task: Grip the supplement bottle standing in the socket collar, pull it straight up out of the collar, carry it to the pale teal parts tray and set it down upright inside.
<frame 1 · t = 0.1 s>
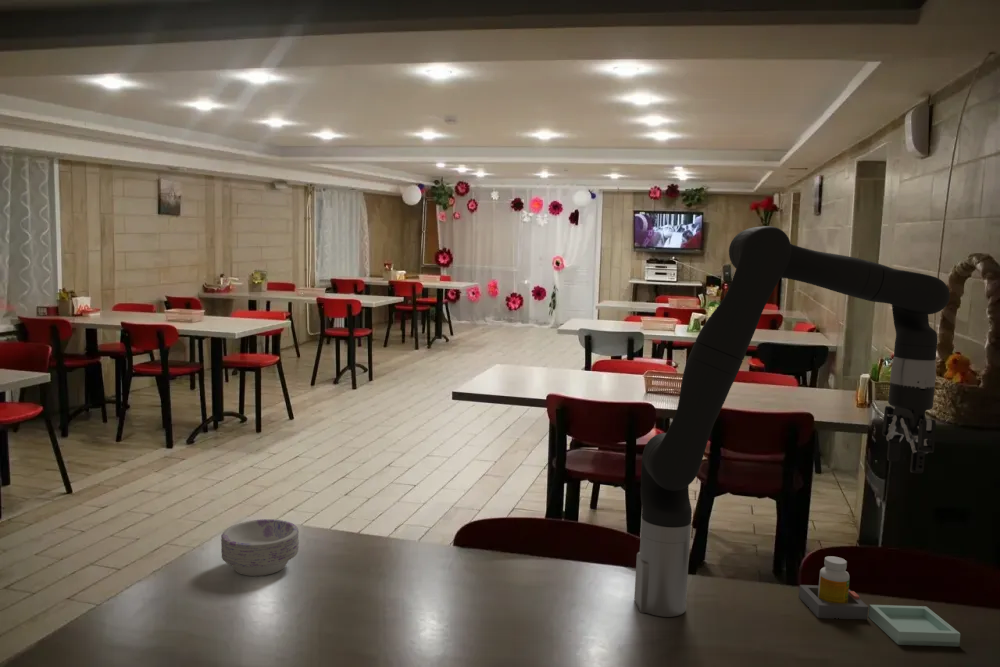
hand: (904, 466, 152), 29 cm above the table, tool pointing down, fingers open, 8 cm apart
socket collar: (831, 607, 156), on the table
parts tray: (912, 631, 147), on the table
supplement bottle: (831, 609, 156), resting in socket collar
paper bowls: (260, 568, 165), on the table
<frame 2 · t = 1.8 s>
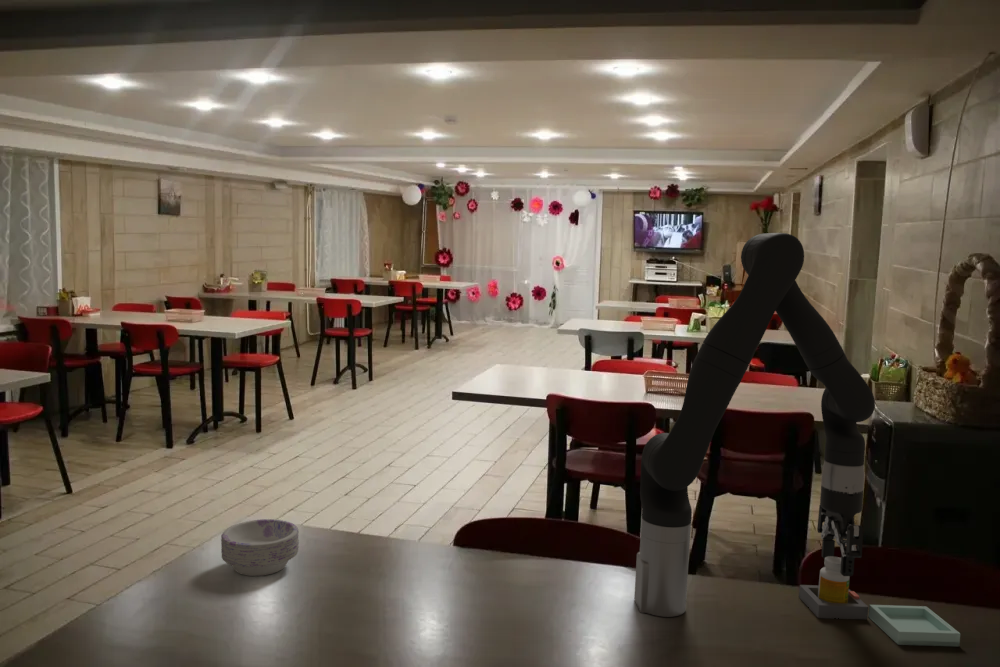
hand: (836, 566, 155), 8 cm above the table, tool pointing down, fingers open, 8 cm apart
nothing on the table moved.
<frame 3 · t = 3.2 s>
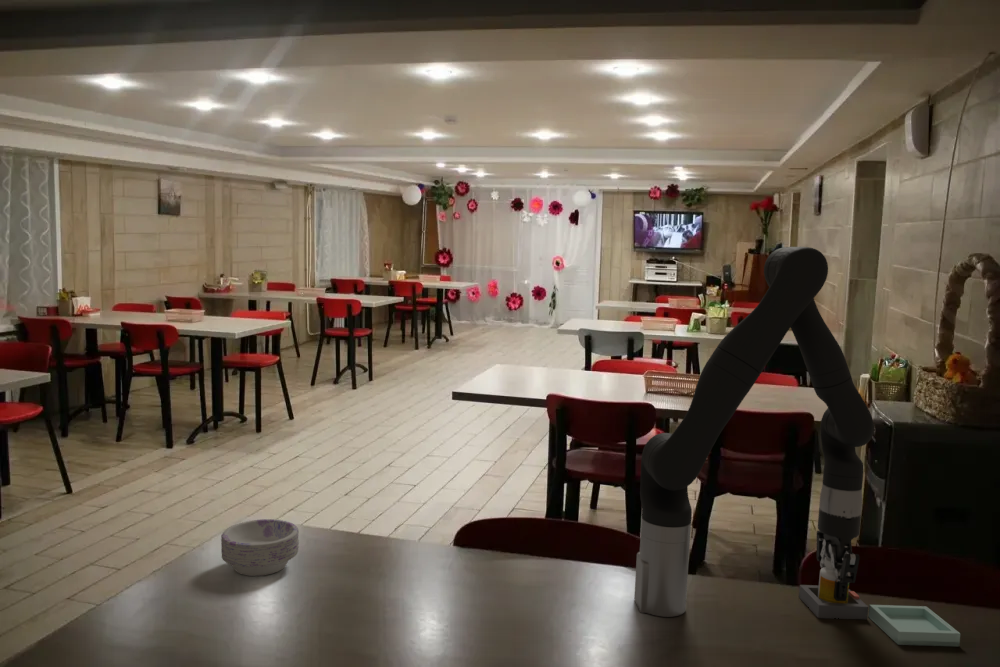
hand: (833, 593, 156), 3 cm above the table, tool pointing down, fingers closed on supplement bottle, 5 cm apart
supplement bottle: (831, 608, 156), resting in socket collar, touching gripper
everything else where it was.
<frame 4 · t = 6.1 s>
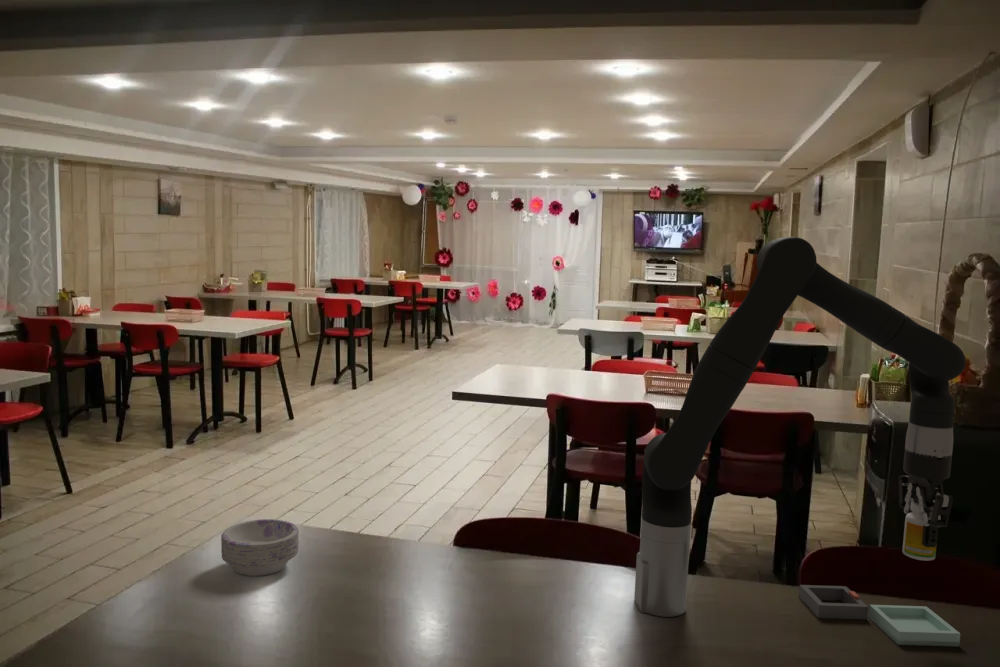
hand: (919, 539, 146), 17 cm above the table, tool pointing down, fingers closed on supplement bottle, 5 cm apart
supplement bottle: (918, 556, 146), point 14 cm above the table, touching gripper
everything else where it was.
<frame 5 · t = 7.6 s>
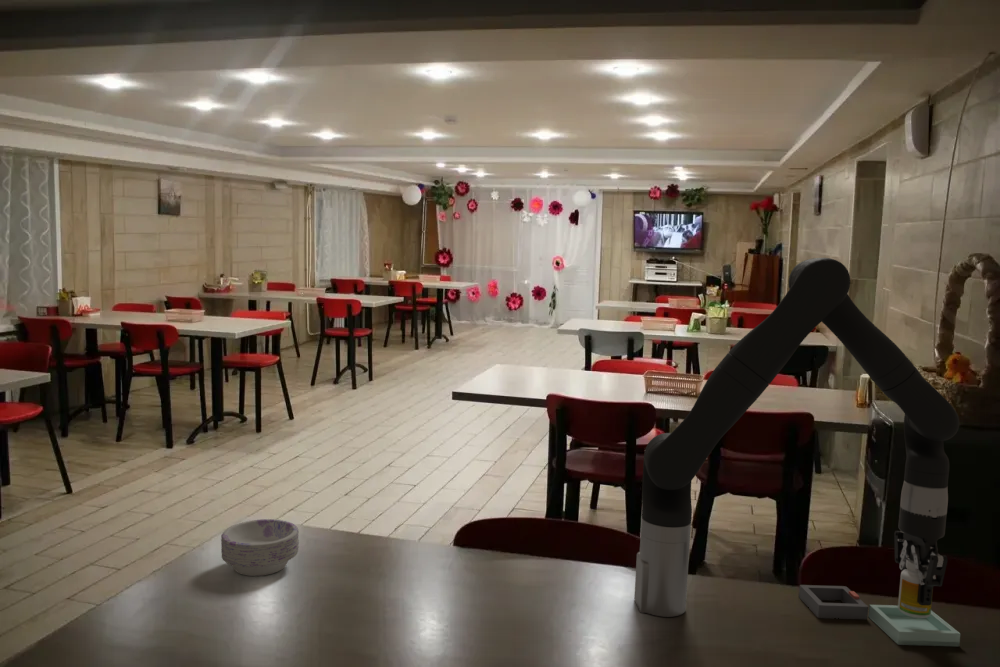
hand: (915, 597, 147), 7 cm above the table, tool pointing down, fingers closed on supplement bottle, 5 cm apart
supplement bottle: (913, 613, 147), point 3 cm above the table, touching gripper
everything else where it was.
when the fingers open (5 cm above the table, at t = 8.8 s): supplement bottle moves 1 cm, resting on parts tray.
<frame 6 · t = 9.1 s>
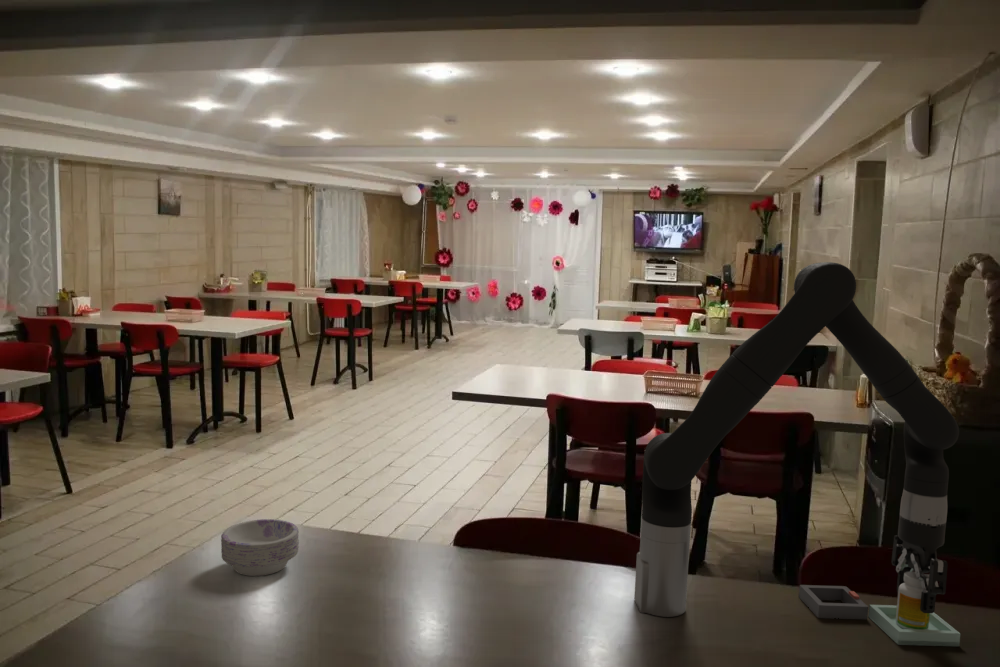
hand: (914, 602, 147), 5 cm above the table, tool pointing down, fingers open, 8 cm apart
supplement bottle: (911, 627, 147), point 1 cm above the table, touching parts tray
everything else where it was.
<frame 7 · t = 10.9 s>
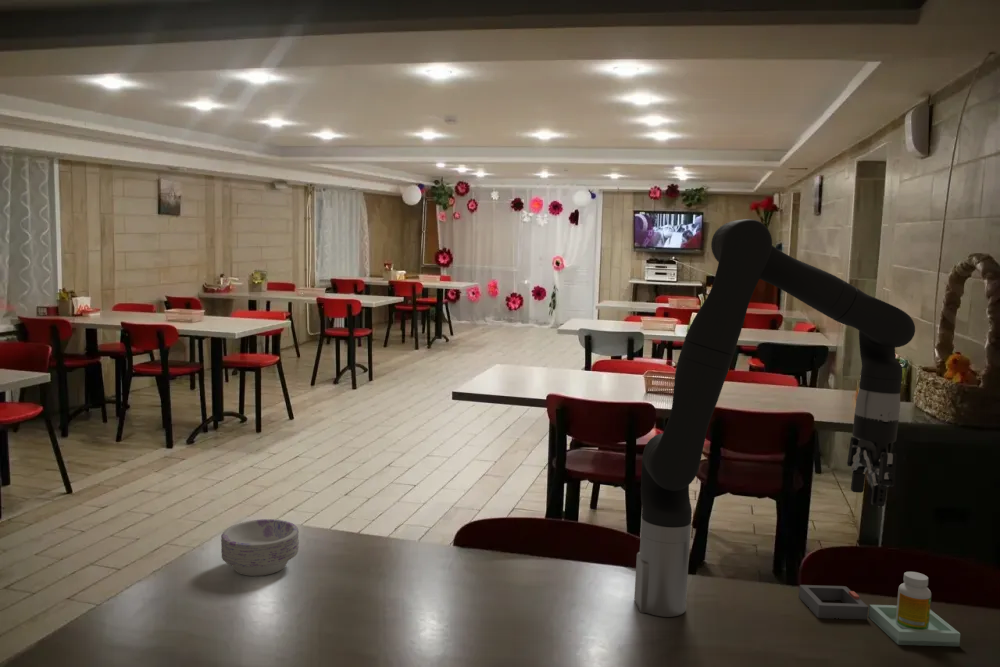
hand: (866, 498, 151), 23 cm above the table, tool pointing down, fingers open, 8 cm apart
nothing on the table moved.
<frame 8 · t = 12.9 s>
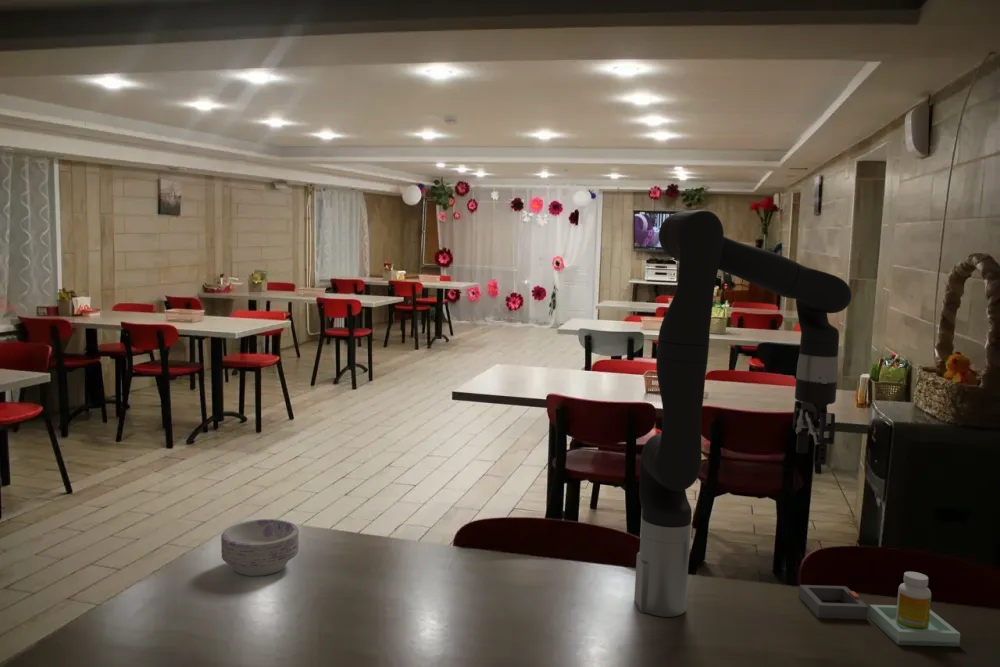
hand: (810, 458, 159), 28 cm above the table, tool pointing down, fingers open, 8 cm apart
nothing on the table moved.
at the end: supplement bottle inside the target area on the parts tray (0.1 cm from its centre), point 0.6 cm above the parts tray's base; supplement bottle tilted 0°; the gripper is holding nothing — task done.
